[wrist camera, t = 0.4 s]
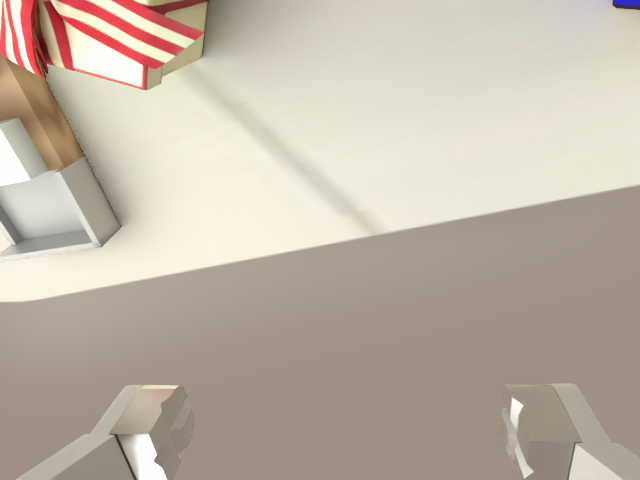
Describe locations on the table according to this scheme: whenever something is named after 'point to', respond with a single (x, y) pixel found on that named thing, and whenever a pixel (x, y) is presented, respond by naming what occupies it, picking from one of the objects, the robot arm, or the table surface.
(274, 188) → the table surface
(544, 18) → the table surface
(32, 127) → the tan wooden board
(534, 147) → the table surface
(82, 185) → the tray
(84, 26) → the gift box
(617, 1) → the puzzle cube
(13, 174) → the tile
